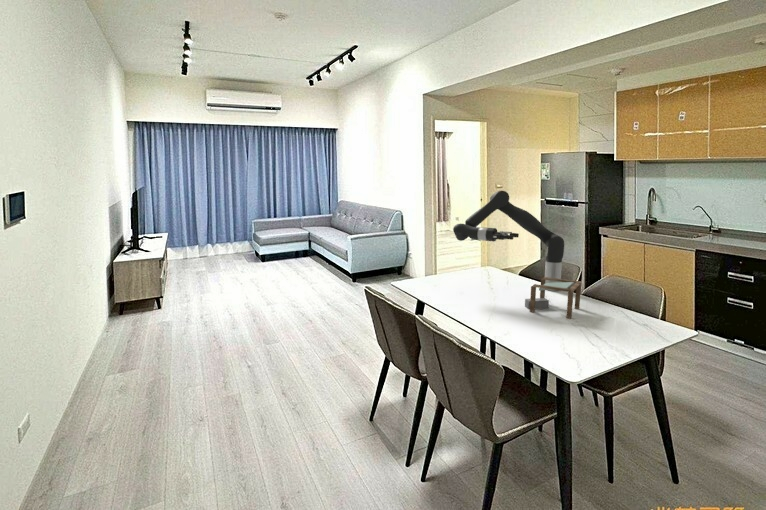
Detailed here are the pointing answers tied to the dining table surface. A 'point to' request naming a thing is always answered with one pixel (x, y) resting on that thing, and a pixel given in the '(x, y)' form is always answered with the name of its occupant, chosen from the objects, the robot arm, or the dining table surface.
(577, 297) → the trapdoor frame
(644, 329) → the dining table surface
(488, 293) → the dining table surface
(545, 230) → the robot arm
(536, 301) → the grey rectangular block
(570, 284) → the trapdoor
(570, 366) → the dining table surface
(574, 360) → the dining table surface
